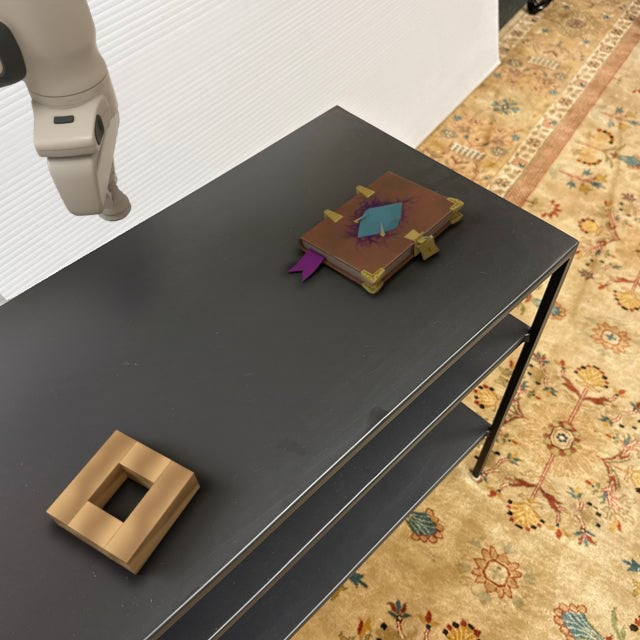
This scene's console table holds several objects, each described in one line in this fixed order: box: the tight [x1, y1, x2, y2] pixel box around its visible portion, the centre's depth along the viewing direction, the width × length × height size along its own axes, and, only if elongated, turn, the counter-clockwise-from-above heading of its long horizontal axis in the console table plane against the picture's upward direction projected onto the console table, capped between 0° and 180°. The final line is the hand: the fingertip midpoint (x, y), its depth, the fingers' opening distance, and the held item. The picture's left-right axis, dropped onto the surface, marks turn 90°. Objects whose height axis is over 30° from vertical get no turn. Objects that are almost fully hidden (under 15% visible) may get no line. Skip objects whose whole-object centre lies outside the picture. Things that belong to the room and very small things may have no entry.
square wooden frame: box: [45, 429, 200, 575], centre depth 69 cm, size 11×11×4 cm
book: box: [286, 170, 465, 295], centre depth 92 cm, size 16×25×5 cm, turn 137°
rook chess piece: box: [97, 164, 133, 222], centre depth 83 cm, size 4×4×8 cm
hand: (109, 194), depth 84 cm, fingers closed on rook chess piece, 3 cm apart
